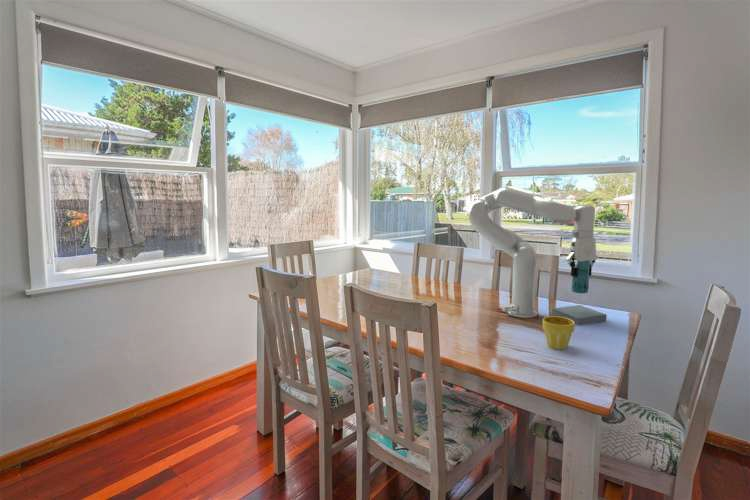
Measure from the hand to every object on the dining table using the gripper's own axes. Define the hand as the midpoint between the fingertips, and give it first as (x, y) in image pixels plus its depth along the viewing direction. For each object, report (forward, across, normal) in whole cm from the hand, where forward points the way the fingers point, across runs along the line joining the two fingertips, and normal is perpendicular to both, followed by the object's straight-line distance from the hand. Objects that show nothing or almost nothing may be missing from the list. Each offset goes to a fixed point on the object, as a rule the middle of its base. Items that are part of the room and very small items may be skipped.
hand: (581, 275), depth 172 cm
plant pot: (+19, -31, -23) cm, 43 cm away
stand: (+19, 0, 0) cm, 19 cm away
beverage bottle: (+9, 0, 0) cm, 9 cm away
